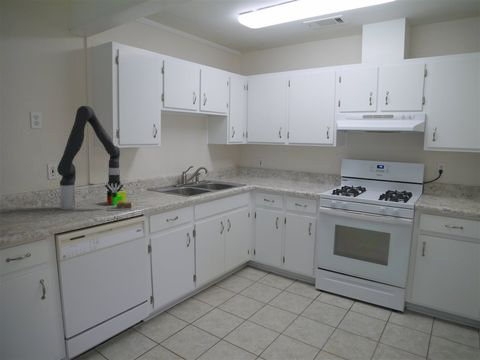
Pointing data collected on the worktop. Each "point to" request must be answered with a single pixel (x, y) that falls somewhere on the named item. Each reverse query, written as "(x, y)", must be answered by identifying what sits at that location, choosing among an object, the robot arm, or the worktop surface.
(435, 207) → the worktop surface
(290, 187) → the worktop surface
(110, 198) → the puzzle toy
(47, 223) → the worktop surface
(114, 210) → the slate mat
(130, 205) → the walnut block
